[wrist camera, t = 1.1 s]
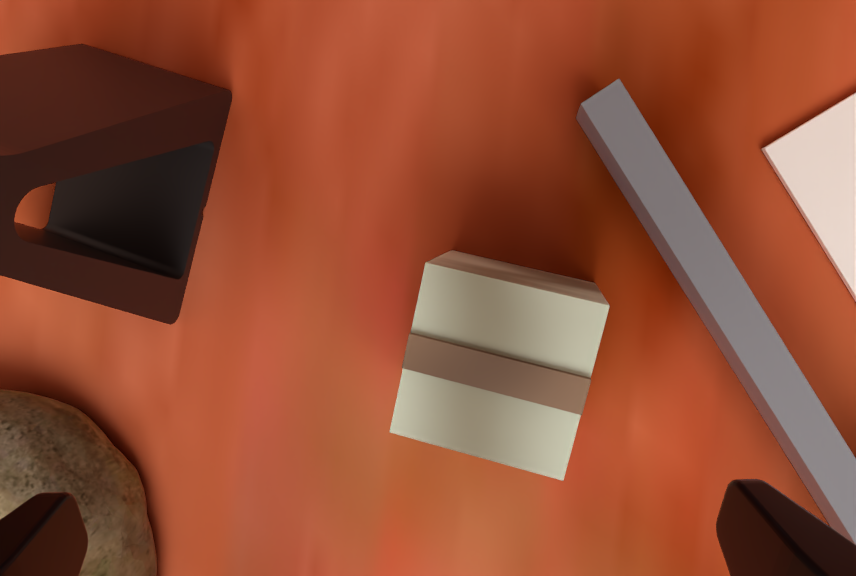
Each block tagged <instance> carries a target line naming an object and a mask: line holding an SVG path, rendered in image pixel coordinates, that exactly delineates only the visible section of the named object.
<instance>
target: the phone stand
mask: <svg viewBox="0 0 856 576" xmlns="http://www.w3.org/2000/svg"><path fill="white" fill-rule="evenodd" d="M231 101H232V94H231V92H230V91H229V90H227V89H223V88H220V87H217V86H214V85H211V84H208V83H205V82H201V81H198V80H195V79H192V78H189V77H186V76H182V75H179V74H176V73H173V72H170V71H167V70H164V69H160V68H157V67H154V66H151V65H148V64H145V63H142V62H138V61H135V60H132V59H129V58H126V57H123V56H119V55H116V54H113V53H110V52H107V51H104V50H101V49H97V48H94V47H91V46H88V45H85V44H77V45H70V46H63V47H56V48H49V49H42V50H35V51H28V52H20V53H13V54H6V55H0V275H1V276H5V277H9V278H12V279H15V280H19V281H22V282H26V283H29V284H33V285H36V286H39V287H43V288H46V289H50V290H53V291H57V292H60V293H64V294H67V295H70V296H74V297H77V298H81V299H84V300H88V301H91V302H95V303H98V304H101V305H105V306H108V307H112V308H115V309H119V310H122V311H125V312H129V313H132V314H136V315H139V316H143V317H146V318H150V319H153V320H156V321H160V322H163V323H167V324H173V323H174V322H175V321H176V320H177V318H178V316H179V313H180V309H181V305H182V301H183V297H184V293H185V289H186V285H187V281H188V277H189V273H190V269H191V264H192V260H193V256H194V252H195V248H196V244H197V240H198V236H199V232H200V228H201V224H202V220H203V216H202V210H203V208H204V207H205V206H206V203H207V199H208V195H209V191H210V187H211V183H212V179H213V175H214V171H215V167H216V163H217V158H218V154H219V150H220V146H221V142H222V138H223V134H224V130H225V126H226V122H227V118H228V114H229V110H230V105H231ZM55 182H56V186H55V191H54V197H53V202H52V207H51V212H50V217H49V222H48V224H47V226H46V227H45V228H43V229H37V228H34V227H30V226H27V225H23V224H20V223H16V222H14V217H15V212H16V209H17V207H18V205H19V203H20V201H21V200H22V198H23V197H24V196H25V195H26V194H27V193H28V192H29V191H31V190H32V189H34V188H37V187H40V186H43V185H47V184H51V183H55Z"/></svg>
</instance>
